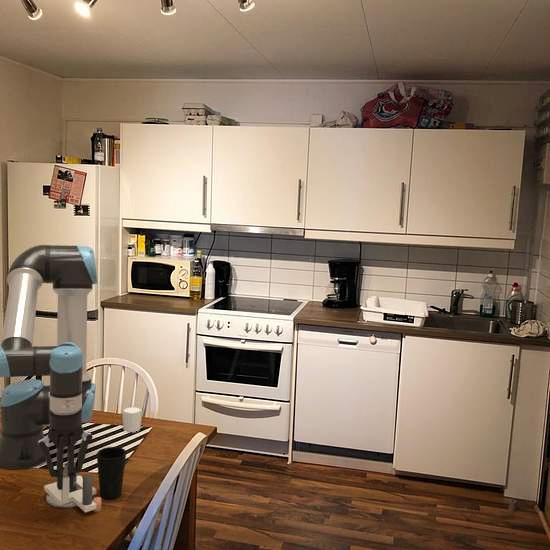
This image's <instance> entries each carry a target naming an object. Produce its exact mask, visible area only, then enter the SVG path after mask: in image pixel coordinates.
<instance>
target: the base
mask: <svg viewBox="0 0 550 550" xmlns="http://www.w3.org/2000/svg"><path fill="white" fill-rule="evenodd" d="M75 463H76V461H74V466H75ZM63 473H68V471H67V462H65V463H63ZM77 476H78V473H76V474H75V476H74V485H73V487H72V488H69V493H70V492H74V491H77V490H80V489H79V488H77ZM45 498H46V499H45V500H46V503H47V504H49V505H50V506H52V507H54V508H59V509H71V508H76V507H77V508H78V507H79V506H78V505H77V504H76V503H74V502H73V501H72V502H69V503H66V504H63V505H59V504H58V503H57V502H56V501H55V500H54V499H53V498H52V497H51V496H50V495H49V494H48V493H47V492H46V497H45ZM93 498H94V495H92V499H93Z"/></svg>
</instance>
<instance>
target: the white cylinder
mask: <svg viewBox="0 0 550 550" xmlns="http://www.w3.org/2000/svg"><path fill="white" fill-rule="evenodd" d="M121 413H122V426H123V428H122V429H123V432H125V431H127V432H126V433H130V432H132V433H137V432H139V431H141V425H142V417H143V408H141V407H139V406H127V407H124V408H122V410H121ZM136 431H137V432H136Z"/></svg>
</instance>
